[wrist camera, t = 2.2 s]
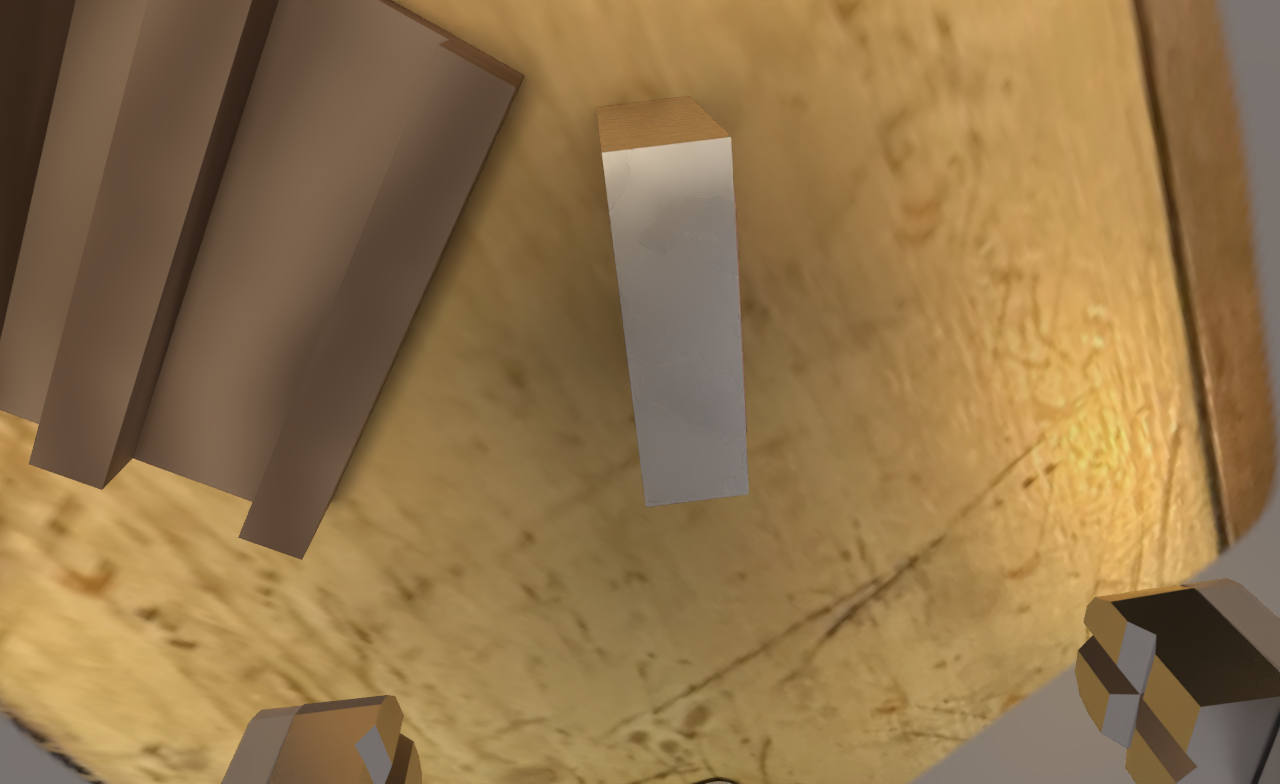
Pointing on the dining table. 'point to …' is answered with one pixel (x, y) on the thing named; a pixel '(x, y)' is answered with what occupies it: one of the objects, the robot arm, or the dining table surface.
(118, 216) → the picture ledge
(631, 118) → the light grey rectangular block
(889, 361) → the dining table surface
